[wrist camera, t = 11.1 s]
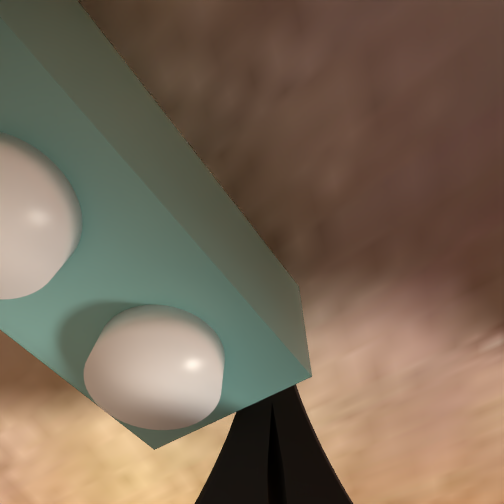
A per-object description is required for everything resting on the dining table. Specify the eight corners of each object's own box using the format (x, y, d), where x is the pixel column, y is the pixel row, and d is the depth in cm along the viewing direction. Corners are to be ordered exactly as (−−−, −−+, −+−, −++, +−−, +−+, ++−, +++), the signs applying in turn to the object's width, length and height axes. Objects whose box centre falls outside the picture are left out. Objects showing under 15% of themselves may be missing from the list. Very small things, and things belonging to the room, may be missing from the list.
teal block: (299, 286, 11) (316, 407, 8) (178, 351, 13) (146, 482, 9) (77, -1, 8) (-75, -25, 4) (-54, 129, 9) (-253, 193, 6)
